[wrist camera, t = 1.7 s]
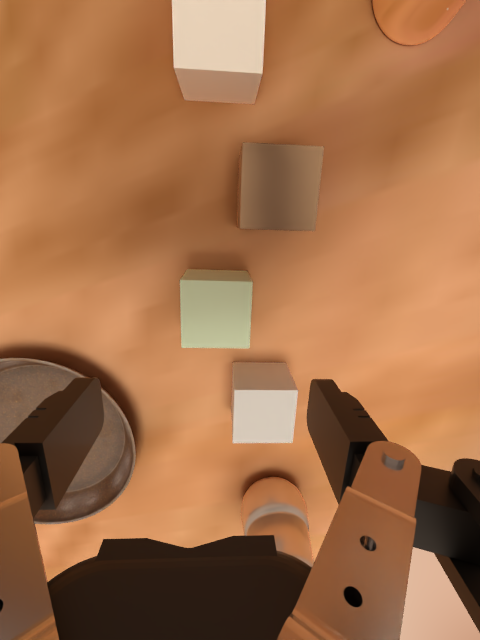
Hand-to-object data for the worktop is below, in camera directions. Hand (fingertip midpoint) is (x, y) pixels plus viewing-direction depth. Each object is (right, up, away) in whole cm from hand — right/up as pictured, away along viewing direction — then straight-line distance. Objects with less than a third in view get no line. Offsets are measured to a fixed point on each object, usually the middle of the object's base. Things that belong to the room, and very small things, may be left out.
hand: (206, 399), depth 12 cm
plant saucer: (-17, -7, +18) cm, 26 cm away
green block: (-1, +5, +15) cm, 16 cm away
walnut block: (+4, +13, +12) cm, 18 cm away
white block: (0, +21, +10) cm, 23 cm away
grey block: (+3, -3, +18) cm, 18 cm away
